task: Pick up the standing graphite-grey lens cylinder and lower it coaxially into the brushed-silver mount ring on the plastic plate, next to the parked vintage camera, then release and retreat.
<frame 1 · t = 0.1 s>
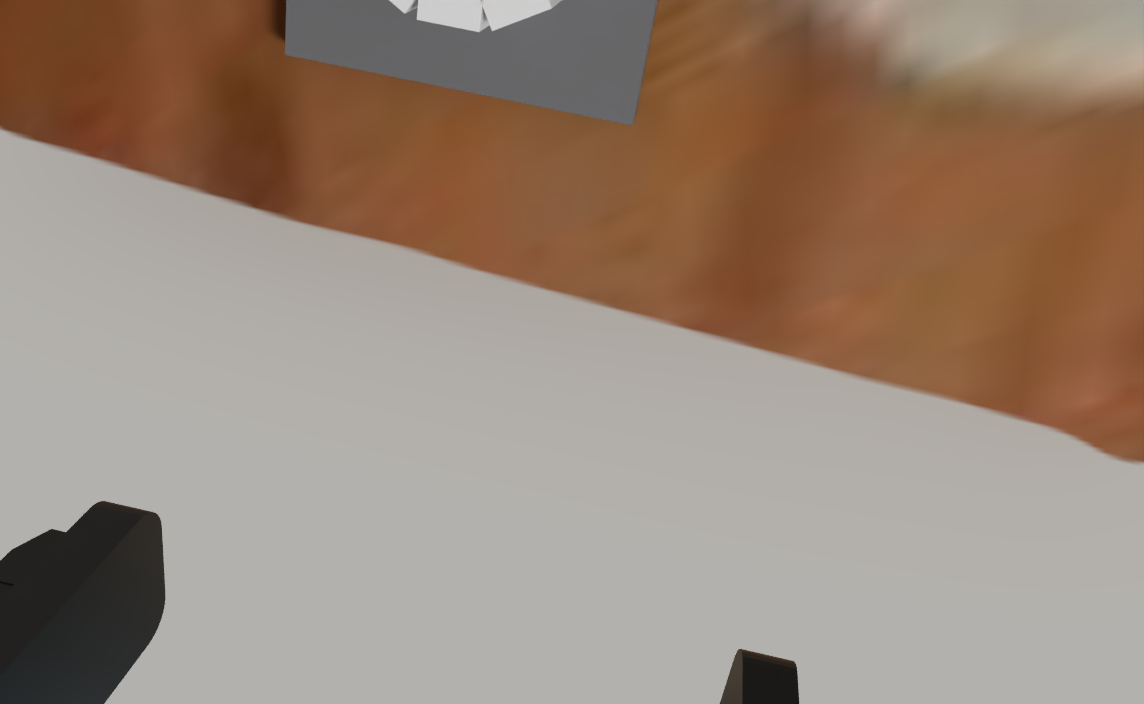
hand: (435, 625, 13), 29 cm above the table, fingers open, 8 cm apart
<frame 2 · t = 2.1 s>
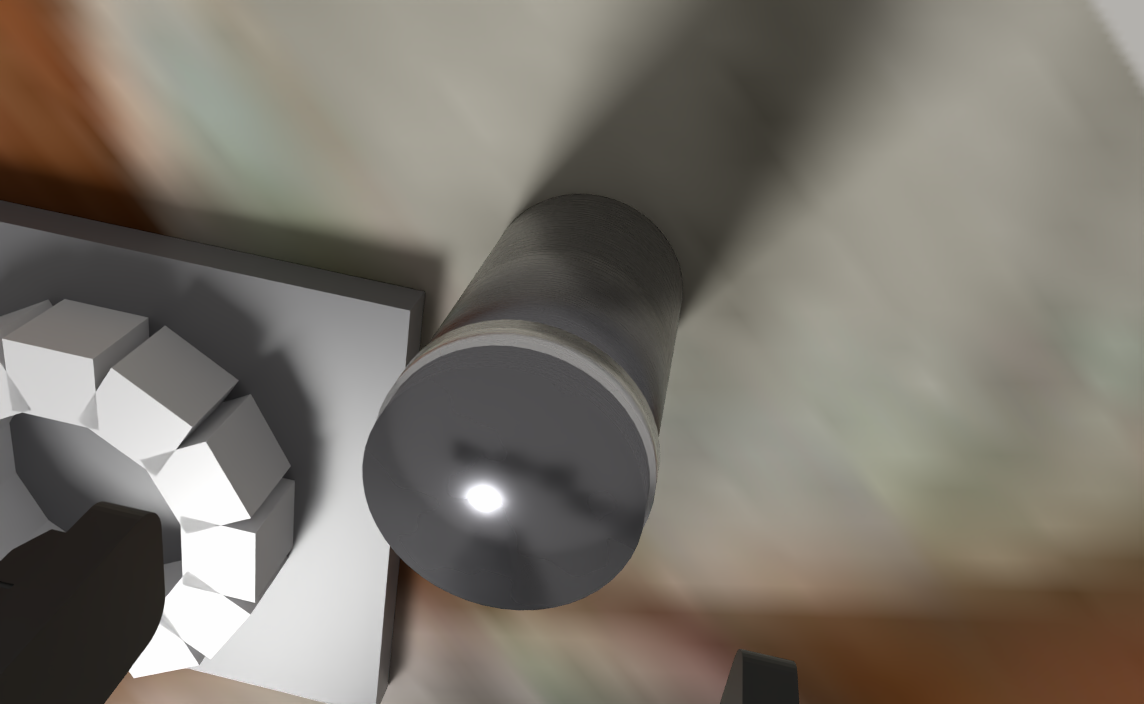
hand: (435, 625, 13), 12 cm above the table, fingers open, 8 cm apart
lens: (585, 288, 24), on the table
mount: (141, 450, 29), on the table
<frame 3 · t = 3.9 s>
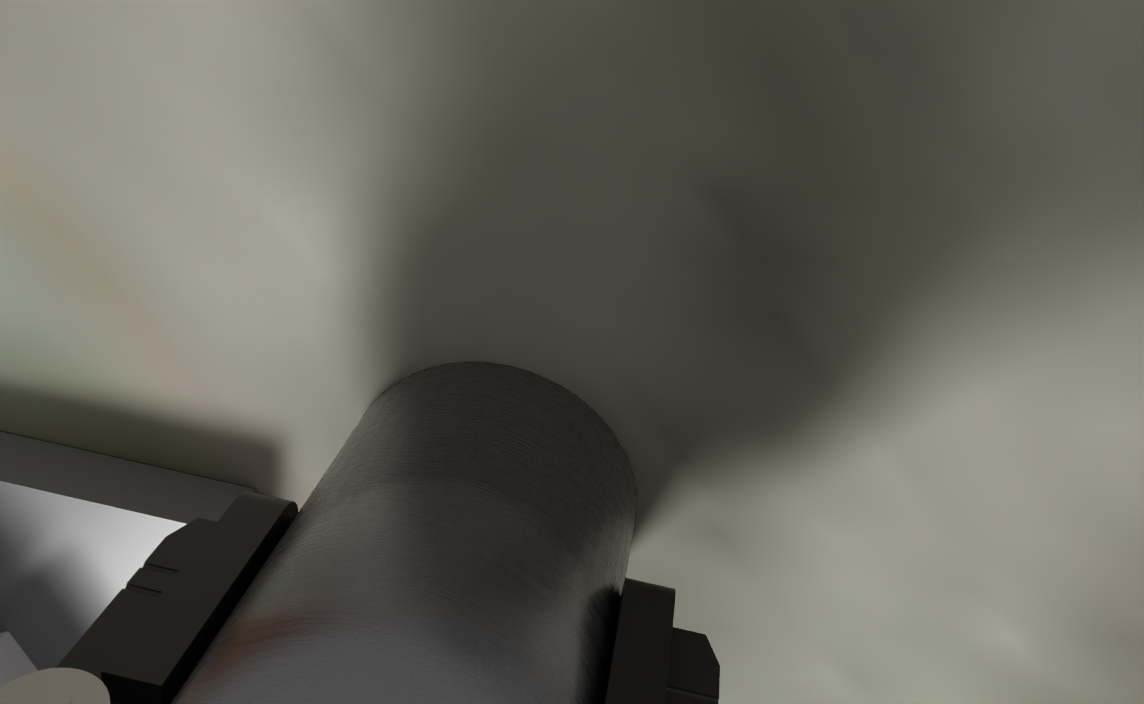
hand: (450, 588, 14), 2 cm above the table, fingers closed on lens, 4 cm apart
lens: (490, 492, 16), on the table, touching gripper
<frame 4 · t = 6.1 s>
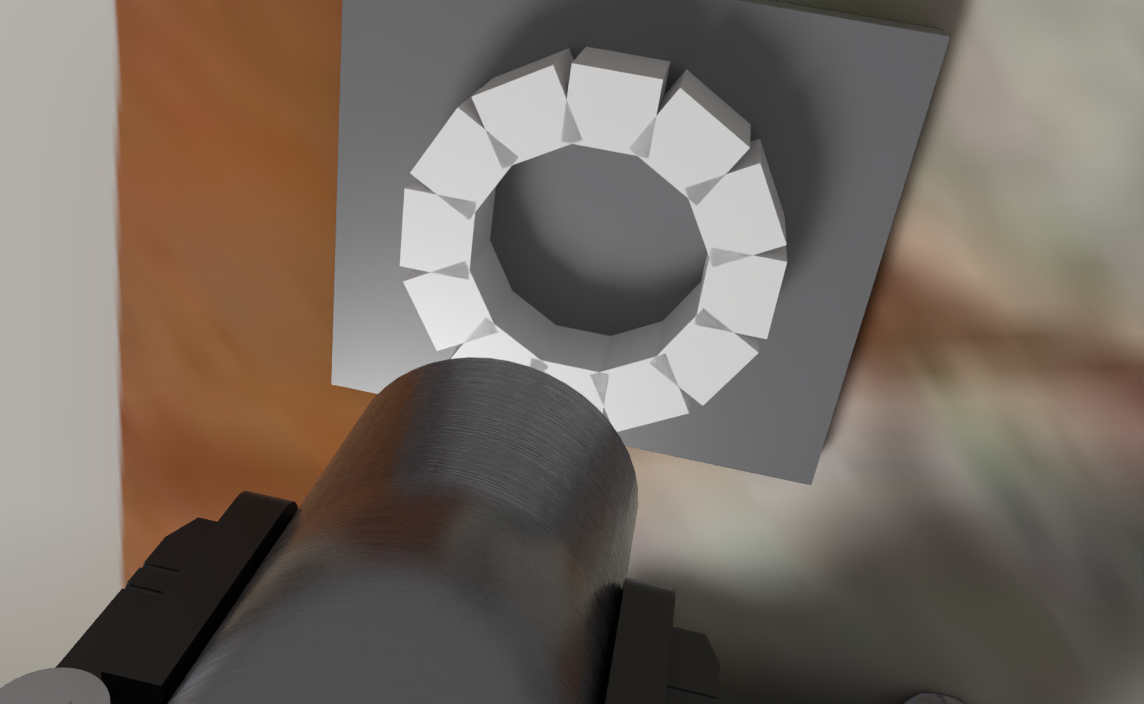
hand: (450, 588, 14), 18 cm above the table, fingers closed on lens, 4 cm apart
lens: (491, 488, 16), point 15 cm above the table, touching gripper
mount: (604, 220, 30), on the table
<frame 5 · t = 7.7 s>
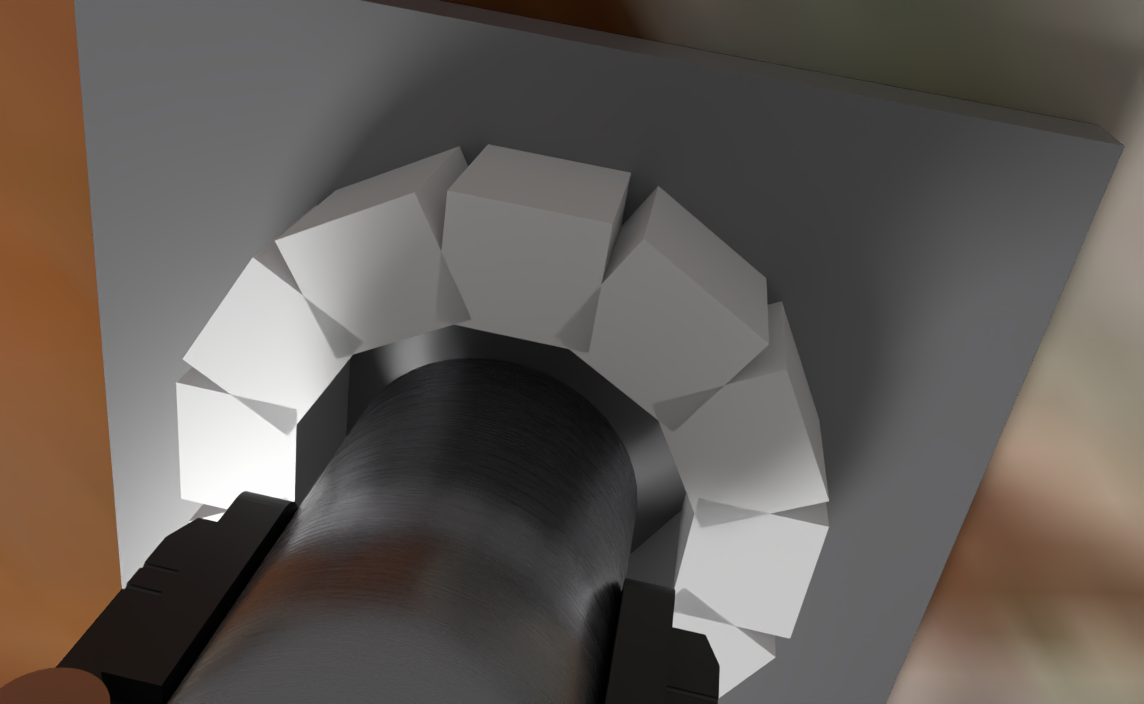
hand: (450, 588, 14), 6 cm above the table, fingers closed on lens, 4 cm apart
lens: (491, 488, 16), point 3 cm above the table, touching gripper
mount: (530, 401, 19), on the table
when the fingers open (5 cm above the table, at t = 8.6 s): lens drops 1 cm, resting on mount.
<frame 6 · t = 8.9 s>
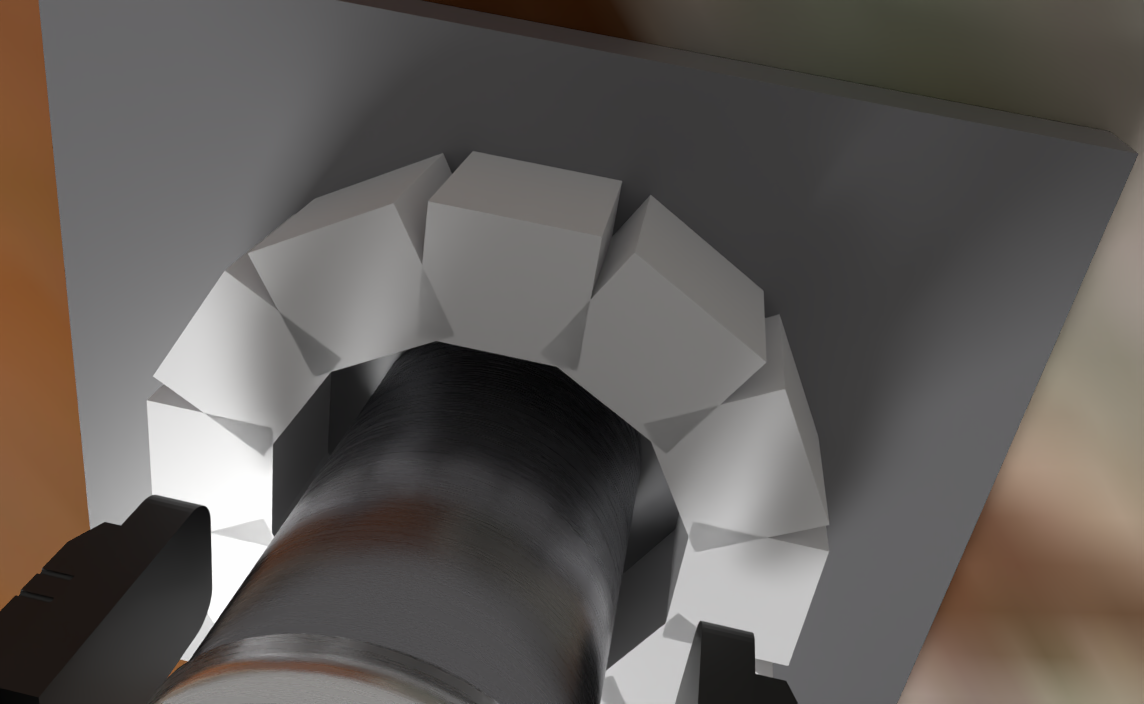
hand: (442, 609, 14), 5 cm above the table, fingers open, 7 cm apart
lens: (504, 447, 17), point 1 cm above the table, touching mount
mount: (519, 416, 18), on the table
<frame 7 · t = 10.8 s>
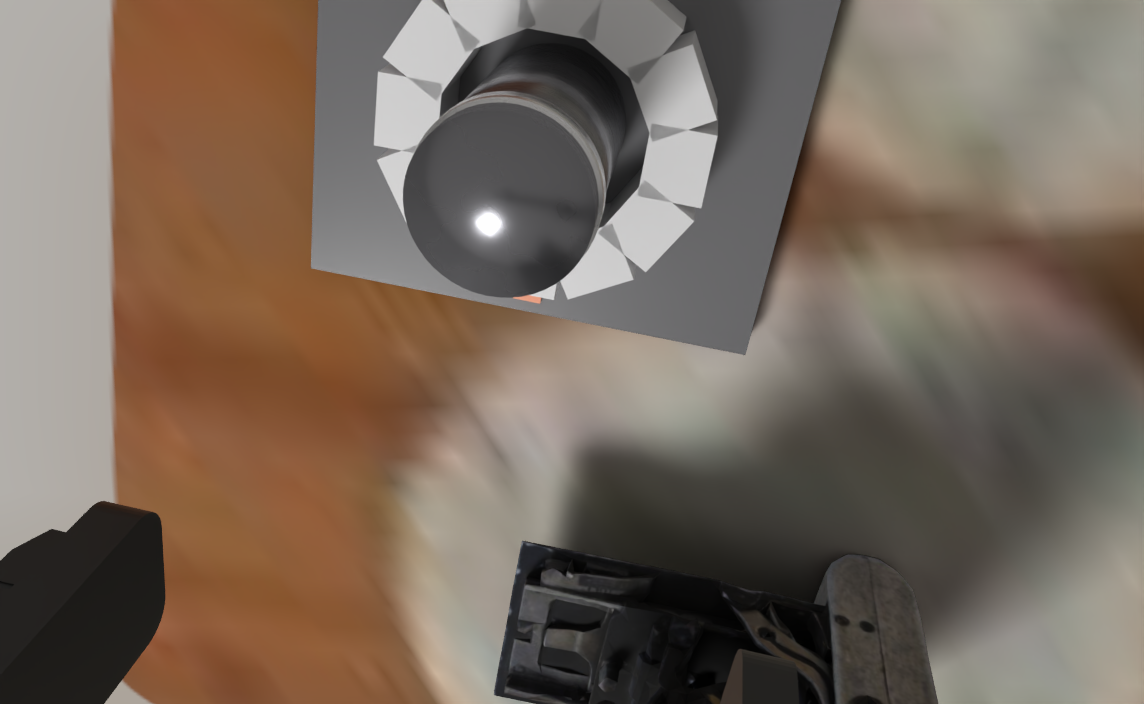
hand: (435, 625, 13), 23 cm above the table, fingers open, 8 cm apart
lens: (552, 118, 32), point 1 cm above the table, touching mount
vintage camera: (697, 605, 43), on the table
mount: (558, 111, 33), on the table
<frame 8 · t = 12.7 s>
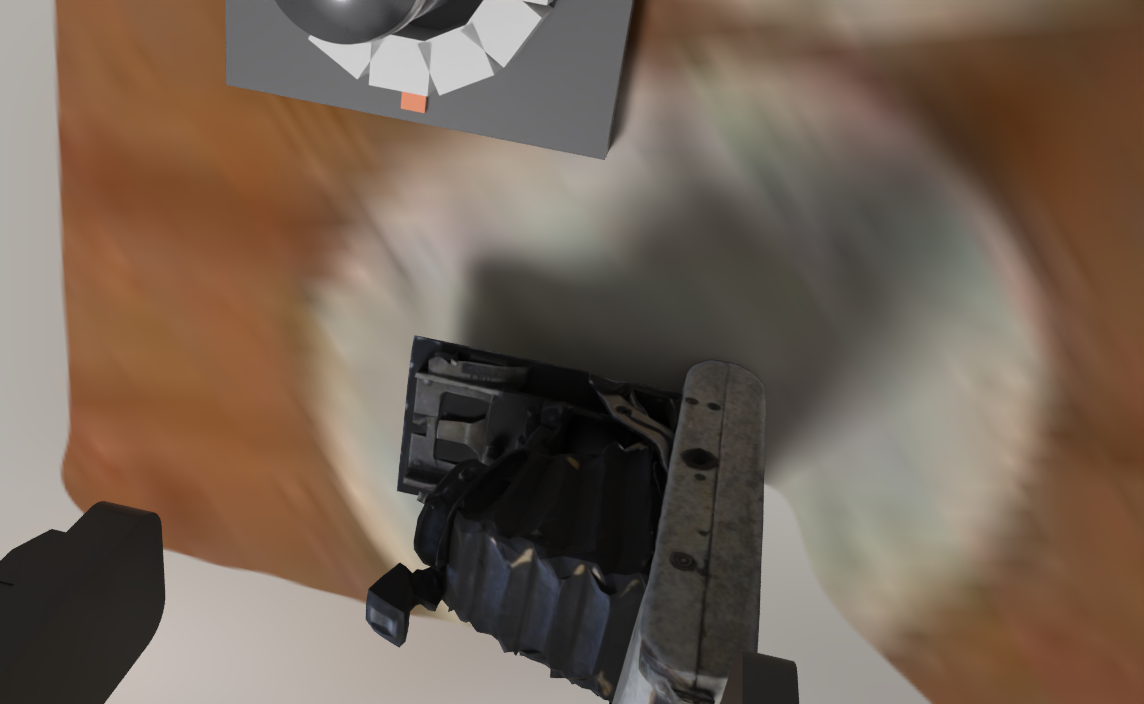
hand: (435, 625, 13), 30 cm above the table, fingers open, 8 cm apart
vintage camera: (583, 416, 47), on the table
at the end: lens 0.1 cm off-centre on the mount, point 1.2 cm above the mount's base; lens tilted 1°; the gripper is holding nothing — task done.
